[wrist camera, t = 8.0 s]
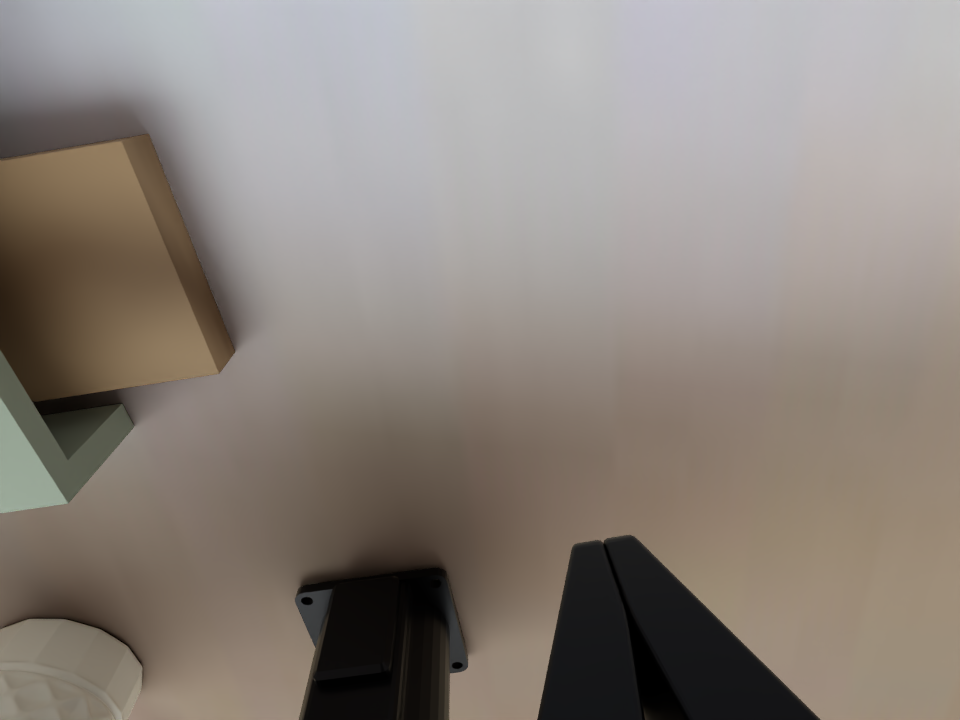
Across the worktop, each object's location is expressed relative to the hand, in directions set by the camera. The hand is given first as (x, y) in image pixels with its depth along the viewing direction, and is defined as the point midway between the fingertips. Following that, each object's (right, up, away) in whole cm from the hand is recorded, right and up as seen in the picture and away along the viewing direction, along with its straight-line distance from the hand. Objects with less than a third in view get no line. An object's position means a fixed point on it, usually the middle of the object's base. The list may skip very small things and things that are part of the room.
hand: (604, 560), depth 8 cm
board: (-16, +6, +10) cm, 20 cm away
